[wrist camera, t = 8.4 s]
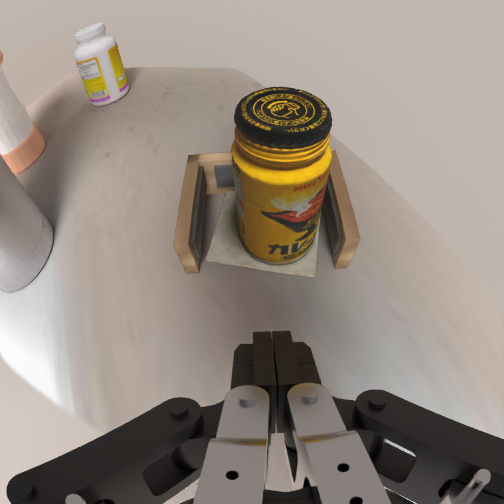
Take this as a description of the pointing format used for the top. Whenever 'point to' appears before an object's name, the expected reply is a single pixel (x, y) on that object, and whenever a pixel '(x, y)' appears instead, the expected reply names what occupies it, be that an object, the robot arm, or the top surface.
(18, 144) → the pepper shaker
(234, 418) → the robot arm
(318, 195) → the condiment
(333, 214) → the light wood low tray
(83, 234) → the top surface
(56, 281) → the top surface
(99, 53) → the supplement bottle
